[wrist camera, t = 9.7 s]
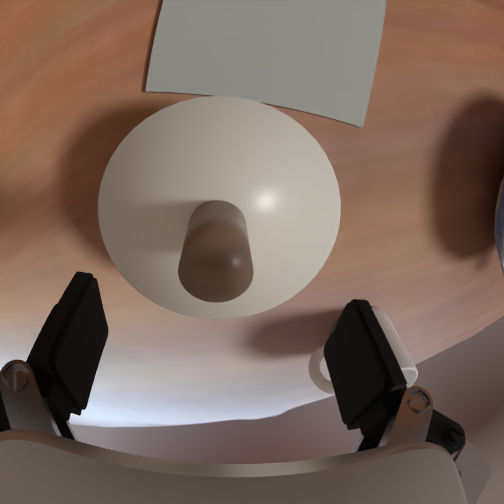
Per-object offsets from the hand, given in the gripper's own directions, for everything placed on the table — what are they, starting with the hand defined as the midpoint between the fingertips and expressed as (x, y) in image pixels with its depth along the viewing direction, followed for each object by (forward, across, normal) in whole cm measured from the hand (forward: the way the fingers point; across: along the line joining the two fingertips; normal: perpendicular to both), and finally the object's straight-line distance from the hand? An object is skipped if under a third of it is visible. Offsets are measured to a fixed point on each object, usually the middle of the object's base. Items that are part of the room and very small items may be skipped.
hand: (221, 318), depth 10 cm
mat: (+16, -2, -16) cm, 23 cm away
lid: (+10, 0, +1) cm, 10 cm away
